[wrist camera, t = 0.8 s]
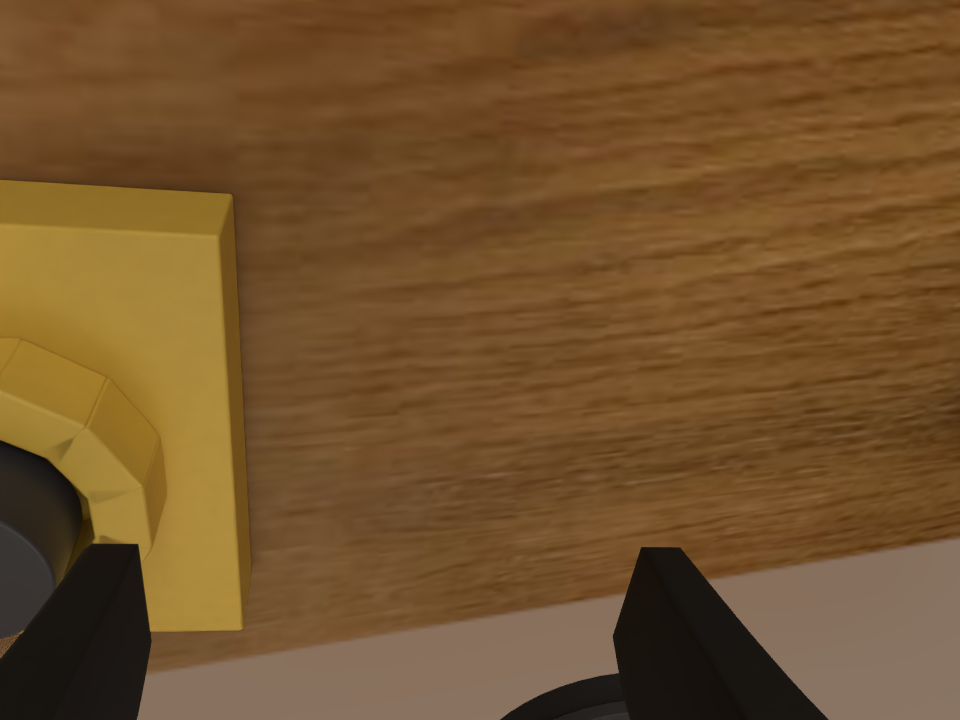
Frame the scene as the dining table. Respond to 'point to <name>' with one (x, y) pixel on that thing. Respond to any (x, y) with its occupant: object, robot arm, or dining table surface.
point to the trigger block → (133, 380)
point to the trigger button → (32, 534)
